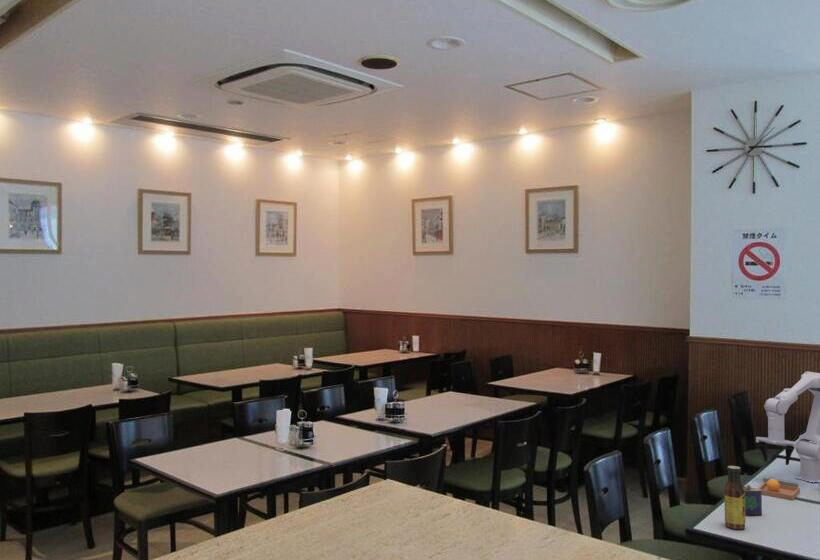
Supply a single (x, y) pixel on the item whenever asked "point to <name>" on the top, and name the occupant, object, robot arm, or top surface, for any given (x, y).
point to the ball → (773, 485)
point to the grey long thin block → (784, 482)
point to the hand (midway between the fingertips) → (776, 462)
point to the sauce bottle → (734, 499)
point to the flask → (753, 501)
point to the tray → (781, 491)
